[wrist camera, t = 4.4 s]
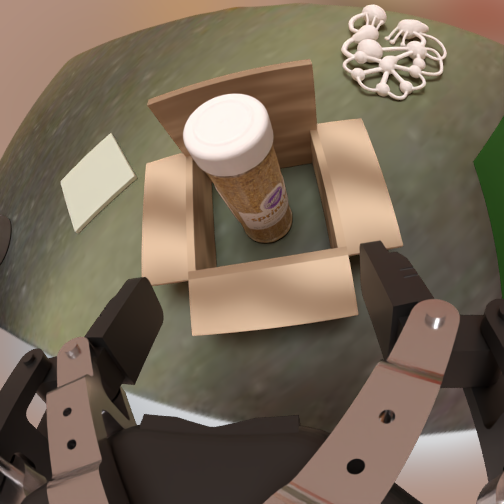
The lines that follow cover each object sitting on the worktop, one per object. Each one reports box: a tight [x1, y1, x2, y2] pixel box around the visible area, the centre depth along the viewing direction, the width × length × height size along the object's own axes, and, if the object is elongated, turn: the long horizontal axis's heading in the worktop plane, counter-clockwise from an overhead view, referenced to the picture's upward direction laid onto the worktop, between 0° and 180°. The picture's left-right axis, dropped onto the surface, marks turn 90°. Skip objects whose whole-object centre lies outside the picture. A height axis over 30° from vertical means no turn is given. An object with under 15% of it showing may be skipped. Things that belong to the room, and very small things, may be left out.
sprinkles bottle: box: [183, 94, 292, 243], centre depth 20 cm, size 5×5×13 cm
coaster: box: [61, 133, 137, 233], centre depth 32 cm, size 10×10×1 cm
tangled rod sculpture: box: [341, 5, 447, 100], centre depth 27 cm, size 19×14×4 cm
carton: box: [142, 59, 403, 336], centre depth 20 cm, size 15×19×12 cm
